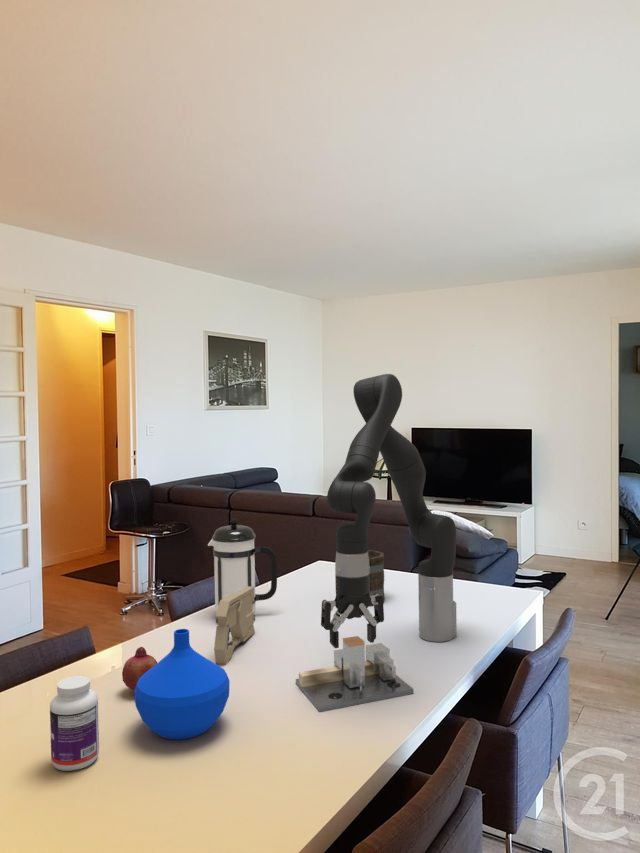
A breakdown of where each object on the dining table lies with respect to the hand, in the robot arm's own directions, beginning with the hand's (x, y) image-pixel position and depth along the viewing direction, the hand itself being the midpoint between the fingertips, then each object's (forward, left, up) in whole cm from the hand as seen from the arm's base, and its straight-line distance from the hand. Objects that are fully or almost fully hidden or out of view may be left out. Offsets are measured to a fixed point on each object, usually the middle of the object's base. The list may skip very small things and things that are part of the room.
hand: (353, 644), depth 144 cm
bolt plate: (0, 0, -10) cm, 10 cm away
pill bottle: (+58, +8, -10) cm, 59 cm away
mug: (-28, -57, -10) cm, 65 cm away
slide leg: (0, -1, -9) cm, 9 cm away
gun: (+18, -35, -10) cm, 41 cm away
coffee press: (+11, -59, -10) cm, 61 cm away
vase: (+38, +3, -10) cm, 39 cm away
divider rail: (0, -4, -9) cm, 10 cm away
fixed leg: (-8, -1, -9) cm, 12 cm away
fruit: (+44, -17, -10) cm, 48 cm away
